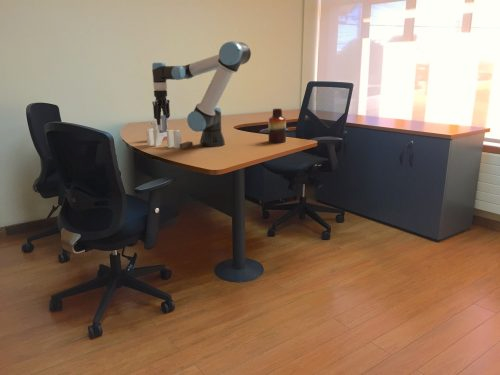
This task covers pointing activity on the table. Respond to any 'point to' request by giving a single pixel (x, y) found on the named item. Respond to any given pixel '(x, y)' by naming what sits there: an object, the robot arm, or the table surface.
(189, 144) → the block
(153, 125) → the ink box
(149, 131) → the domino
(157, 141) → the domino
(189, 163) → the table surface
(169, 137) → the domino
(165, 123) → the domino
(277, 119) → the brown bottle
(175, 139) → the domino
